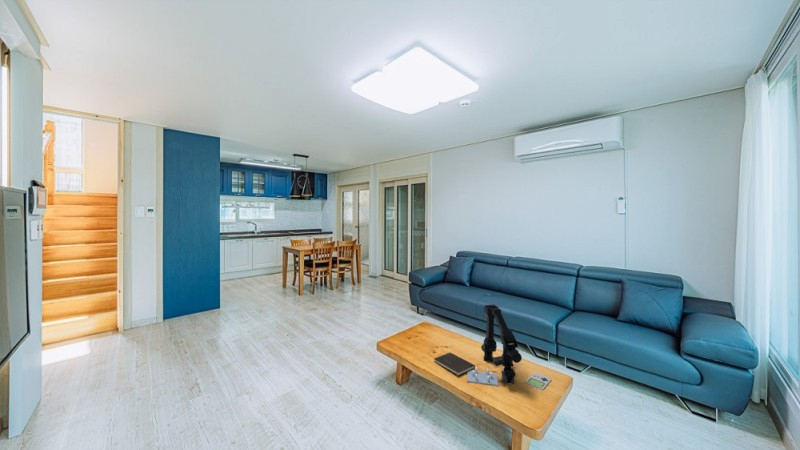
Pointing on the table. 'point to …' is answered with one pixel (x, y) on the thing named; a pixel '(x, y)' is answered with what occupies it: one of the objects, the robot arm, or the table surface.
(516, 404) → the table surface
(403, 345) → the table surface
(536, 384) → the handheld gaming console
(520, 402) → the table surface
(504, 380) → the drive
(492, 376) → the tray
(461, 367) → the hardcover book
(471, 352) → the table surface
